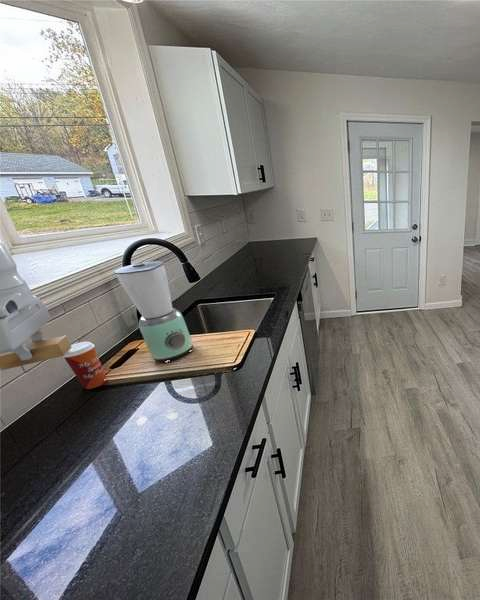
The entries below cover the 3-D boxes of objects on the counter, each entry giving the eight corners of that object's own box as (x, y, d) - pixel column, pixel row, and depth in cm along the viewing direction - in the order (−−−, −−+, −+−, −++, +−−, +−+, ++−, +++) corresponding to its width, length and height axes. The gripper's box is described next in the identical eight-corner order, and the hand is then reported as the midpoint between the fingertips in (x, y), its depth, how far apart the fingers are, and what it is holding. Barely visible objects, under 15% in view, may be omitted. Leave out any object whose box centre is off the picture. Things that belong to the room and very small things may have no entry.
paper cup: (96, 390, 99) (76, 352, 93) (73, 391, 99) (51, 354, 94) (117, 375, 106) (99, 339, 101) (95, 376, 106) (76, 340, 101)
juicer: (204, 350, 118) (172, 260, 105) (165, 369, 108) (124, 272, 94) (180, 339, 128) (147, 256, 114) (141, 356, 117) (101, 266, 104)
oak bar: (1, 370, 72) (-8, 357, 71) (12, 360, 77) (4, 348, 75) (64, 355, 77) (57, 343, 76) (71, 347, 81) (65, 335, 80)
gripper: (9, 290, 78) (37, 338, 83) (-48, 319, 61) (-8, 377, 67) (43, 285, 81) (68, 332, 86) (-2, 311, 64) (32, 368, 69)
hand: (34, 352), depth 76 cm, fingers closed on oak bar, 5 cm apart
